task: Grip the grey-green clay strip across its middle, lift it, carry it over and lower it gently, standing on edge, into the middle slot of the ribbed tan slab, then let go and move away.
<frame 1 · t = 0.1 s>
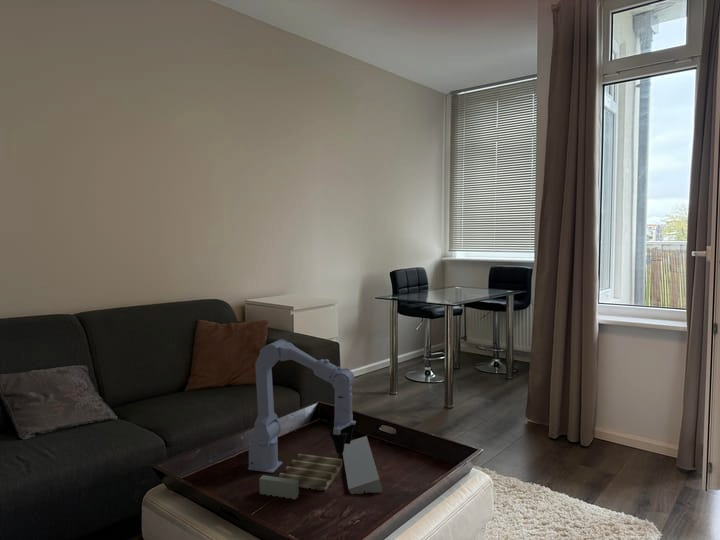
hand: (343, 448, 165), 10 cm above the table, tool pointing down, fingers open, 7 cm apart
ribbed tan slab: (311, 475, 167), on the table
grey rectangular block: (359, 470, 172), on the table
clay strip: (279, 495, 155), on the table
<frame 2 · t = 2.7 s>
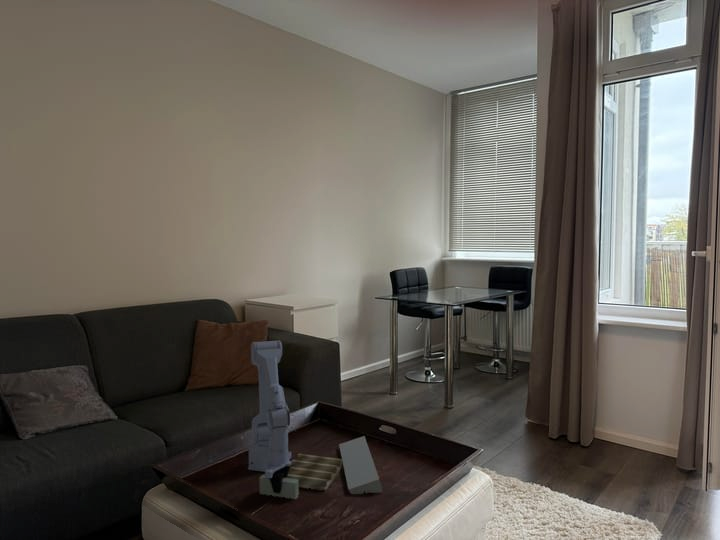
hand: (279, 490, 155), 1 cm above the table, tool pointing down, fingers closed on clay strip, 2 cm apart
clay strip: (279, 494, 155), on the table, touching gripper
everything else where it was.
when the fingers open (4 cm above the table, at t = 6.1 s): clay strip stays where it is, resting on ribbed tan slab.
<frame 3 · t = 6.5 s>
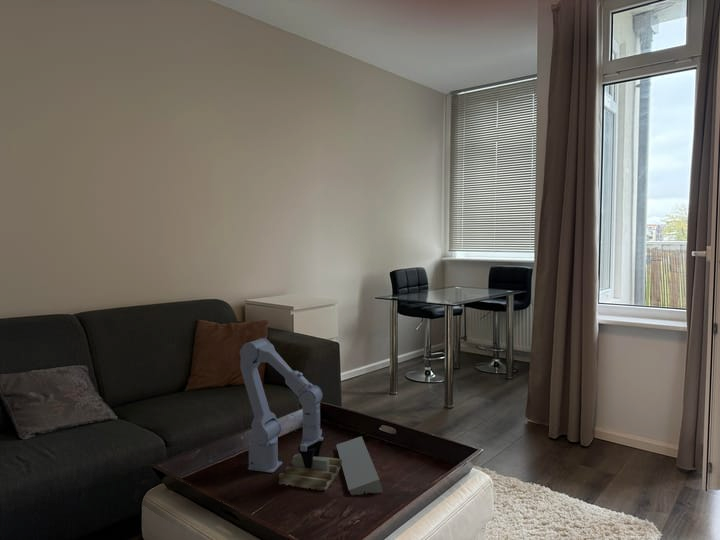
hand: (311, 463, 167), 4 cm above the table, tool pointing down, fingers open, 5 cm apart
clay strip: (311, 472, 167), point 1 cm above the table, touching ribbed tan slab
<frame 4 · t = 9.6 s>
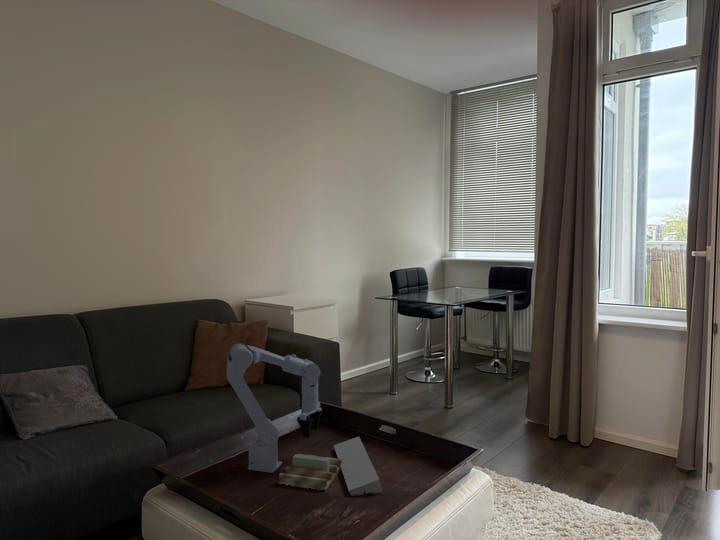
hand: (310, 433, 179), 9 cm above the table, tool pointing down, fingers open, 7 cm apart
at the end: clay strip 0.2 cm off-centre on the ribbed tan slab, point 1.0 cm above the ribbed tan slab's base; clay strip tilted 0°; the gripper is holding nothing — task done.
